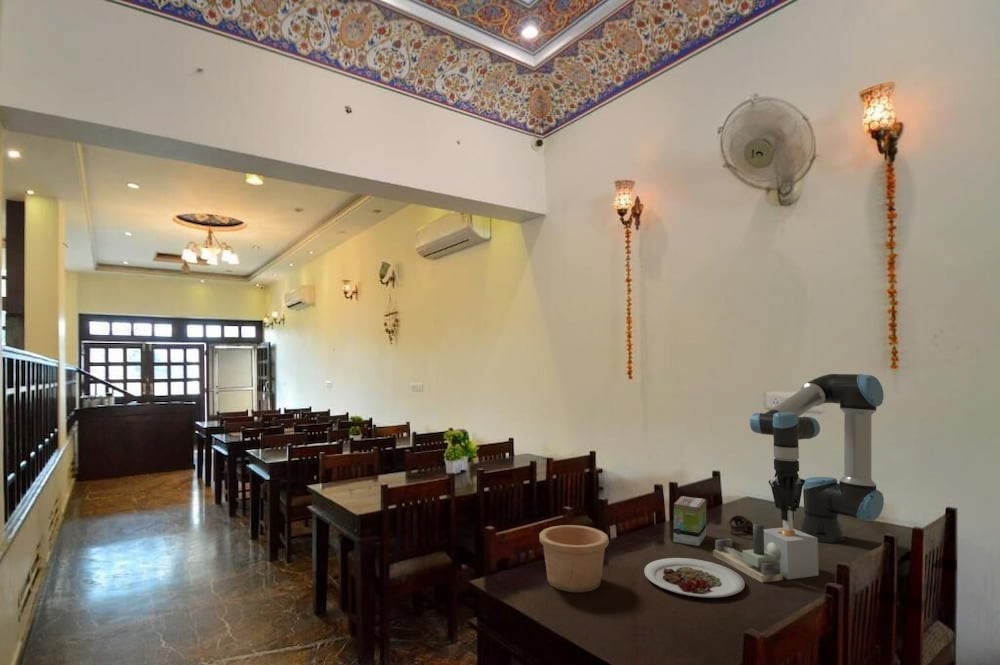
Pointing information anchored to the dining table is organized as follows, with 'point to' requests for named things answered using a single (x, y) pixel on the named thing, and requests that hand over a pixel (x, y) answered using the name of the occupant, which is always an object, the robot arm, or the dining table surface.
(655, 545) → the dining table surface
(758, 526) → the carriage
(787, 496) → the robot arm
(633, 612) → the dining table surface
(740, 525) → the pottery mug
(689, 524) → the tea box
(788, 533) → the plunger
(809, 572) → the grey cube box
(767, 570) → the rail board
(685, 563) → the plated food
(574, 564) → the pottery
